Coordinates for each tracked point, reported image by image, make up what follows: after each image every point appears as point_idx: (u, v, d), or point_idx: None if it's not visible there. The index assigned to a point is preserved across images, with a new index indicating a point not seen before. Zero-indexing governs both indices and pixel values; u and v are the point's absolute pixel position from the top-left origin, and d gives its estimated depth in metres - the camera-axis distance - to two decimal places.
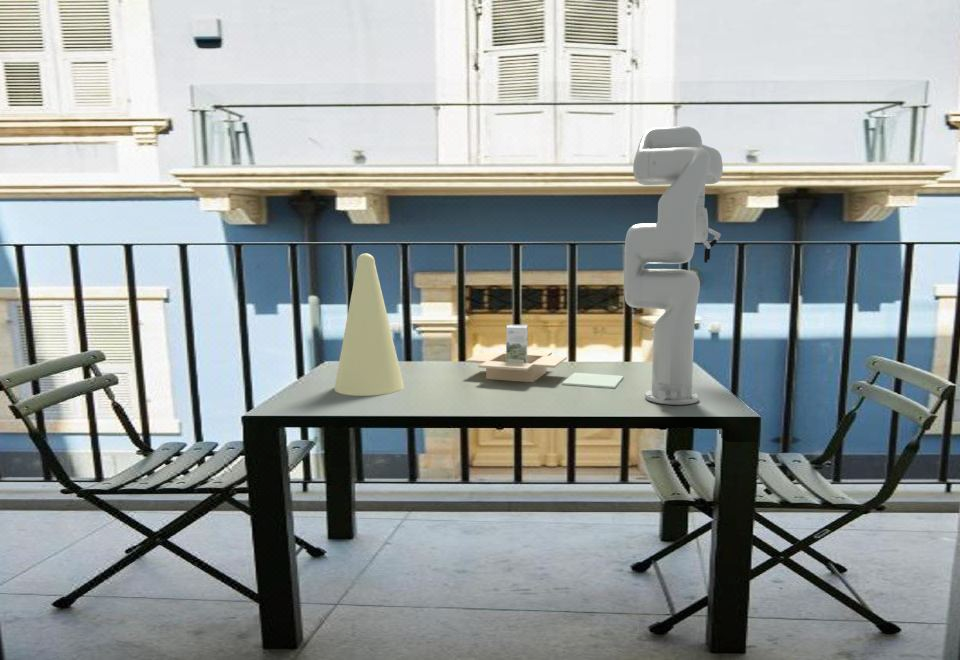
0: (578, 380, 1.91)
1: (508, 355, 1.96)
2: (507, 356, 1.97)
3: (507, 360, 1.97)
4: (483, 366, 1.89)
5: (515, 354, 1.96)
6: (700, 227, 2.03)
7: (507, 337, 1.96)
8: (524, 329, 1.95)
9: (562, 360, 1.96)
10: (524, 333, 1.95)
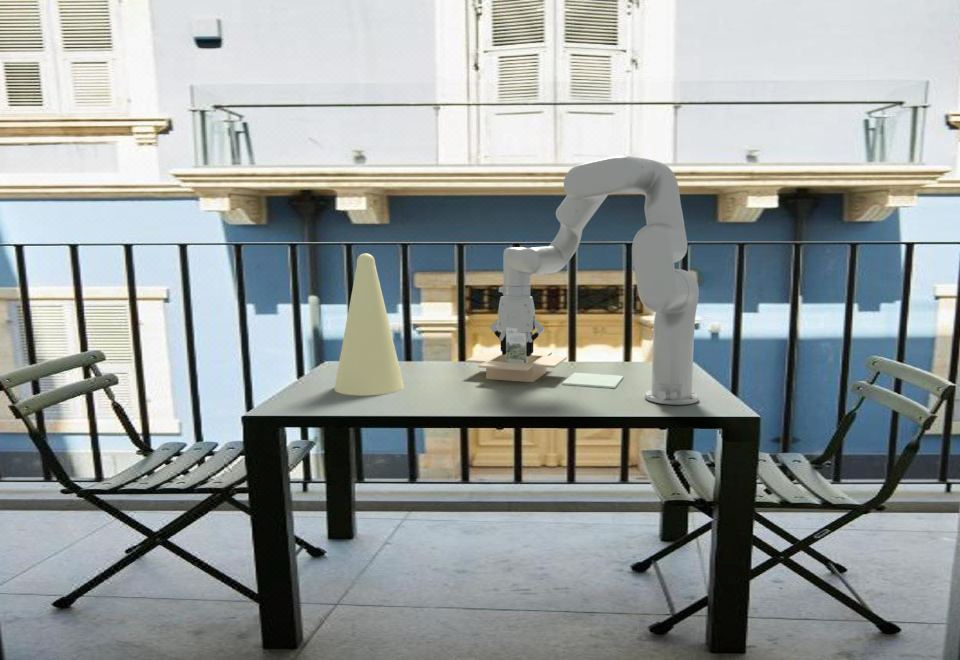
0: (578, 380, 1.91)
1: (508, 355, 1.96)
2: (507, 356, 1.97)
3: (507, 360, 1.97)
4: (483, 366, 1.89)
5: (515, 354, 1.96)
6: (524, 318, 1.94)
7: (507, 337, 1.96)
8: None
9: (562, 360, 1.96)
10: (524, 333, 1.95)
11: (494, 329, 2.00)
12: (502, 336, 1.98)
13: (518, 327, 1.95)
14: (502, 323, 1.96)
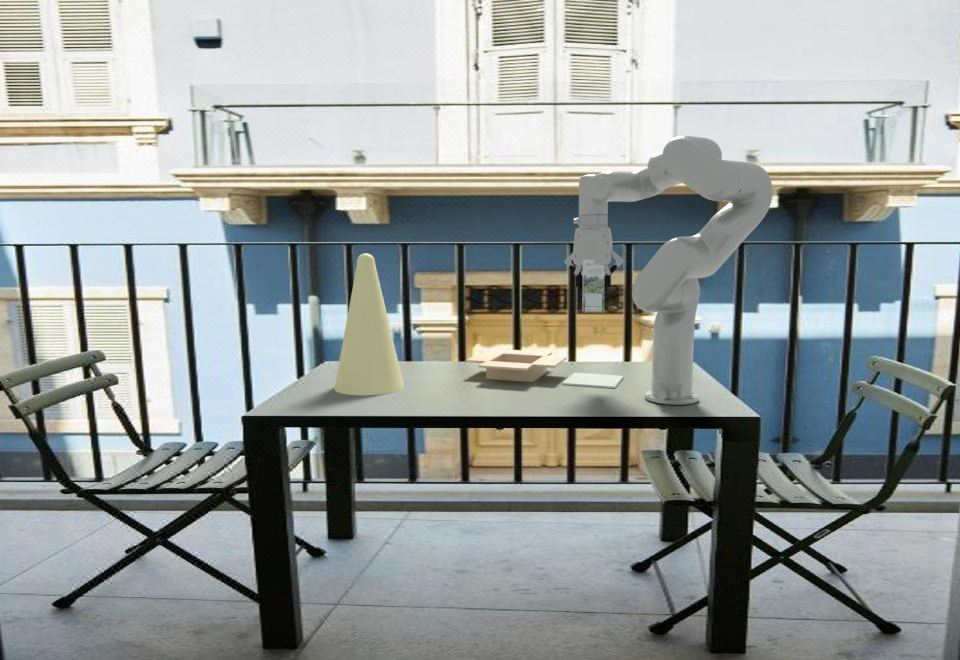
0: (578, 380, 1.91)
1: (585, 289, 1.86)
2: (584, 290, 1.86)
3: (584, 294, 1.86)
4: (483, 366, 1.89)
5: (593, 288, 1.86)
6: (603, 248, 1.83)
7: (584, 270, 1.85)
8: None
9: (562, 360, 1.96)
10: (602, 265, 1.84)
11: (568, 263, 1.89)
12: (578, 270, 1.88)
13: (596, 259, 1.84)
14: (578, 255, 1.86)
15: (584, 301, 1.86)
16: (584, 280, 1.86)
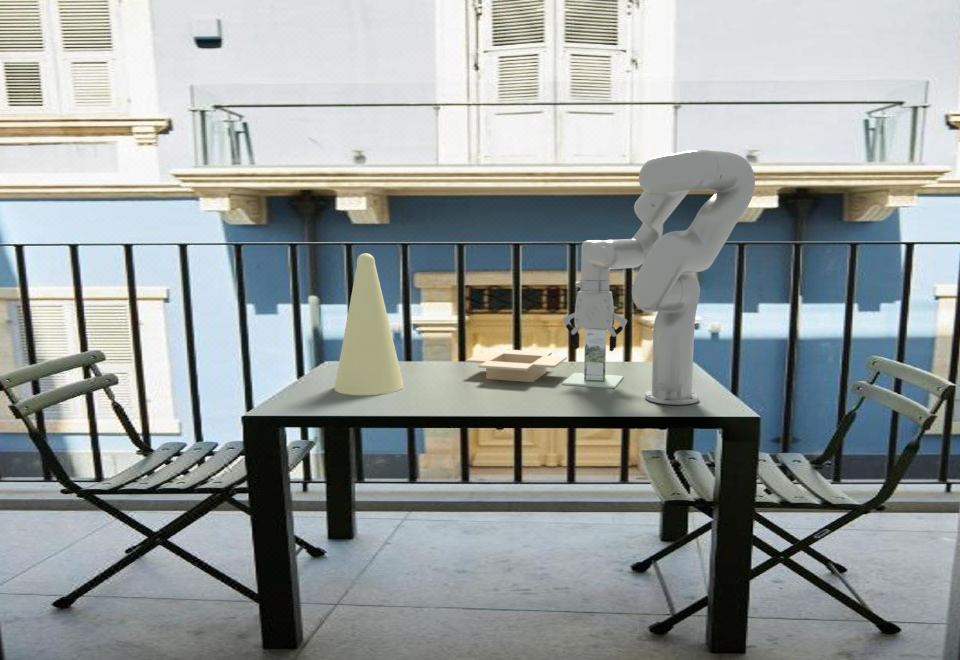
0: (578, 380, 1.91)
1: (586, 358, 1.89)
2: (585, 359, 1.89)
3: (585, 363, 1.89)
4: (483, 366, 1.89)
5: (594, 357, 1.88)
6: (604, 313, 1.86)
7: (586, 339, 1.88)
8: (604, 331, 1.87)
9: (562, 360, 1.96)
10: (604, 335, 1.87)
11: (566, 322, 1.92)
12: (575, 330, 1.91)
13: (597, 323, 1.87)
14: (580, 319, 1.88)
15: (585, 369, 1.89)
16: (586, 349, 1.88)
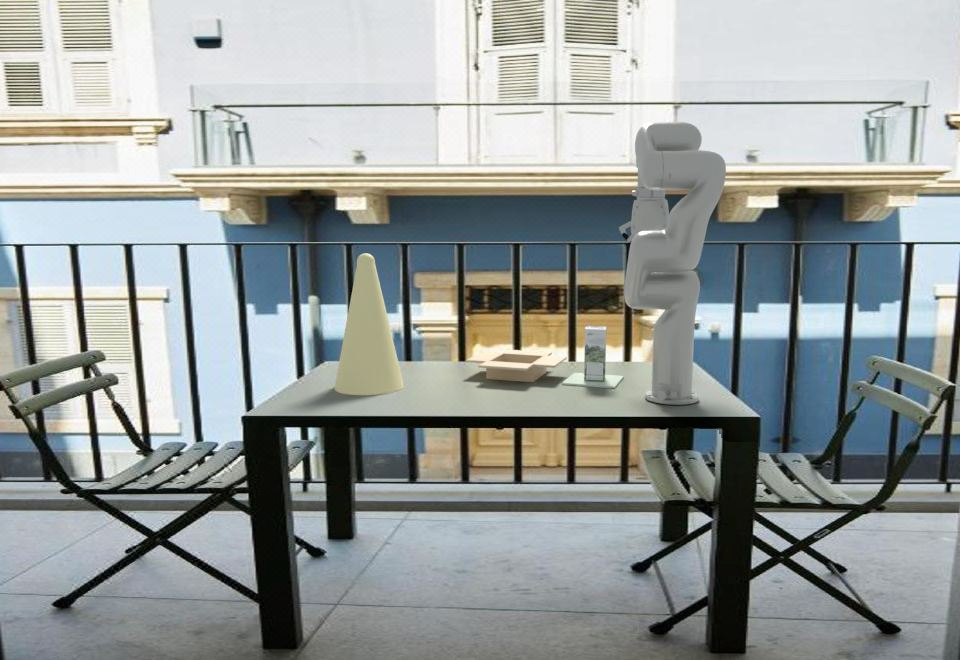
0: (578, 380, 1.91)
1: (586, 358, 1.89)
2: (585, 359, 1.89)
3: (585, 363, 1.89)
4: (483, 366, 1.89)
5: (594, 357, 1.88)
6: (660, 219, 1.93)
7: (586, 339, 1.88)
8: (604, 331, 1.87)
9: (562, 360, 1.96)
10: (604, 335, 1.87)
11: (622, 230, 1.99)
12: (631, 238, 1.98)
13: (653, 229, 1.94)
14: (636, 226, 1.95)
15: (585, 369, 1.89)
16: (586, 349, 1.88)
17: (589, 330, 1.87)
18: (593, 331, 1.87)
